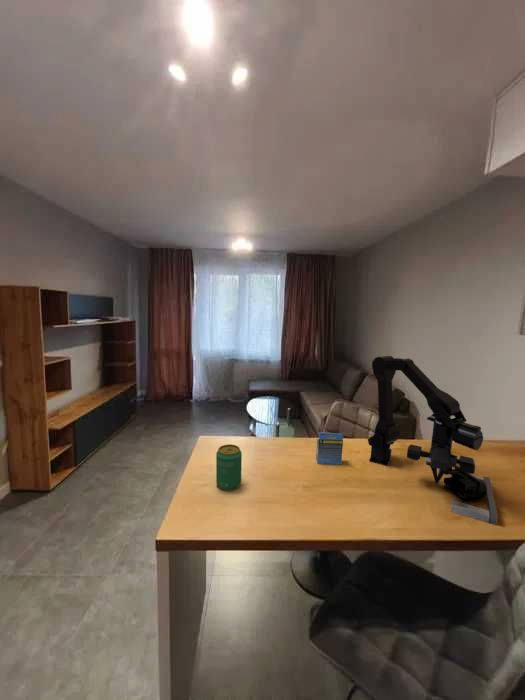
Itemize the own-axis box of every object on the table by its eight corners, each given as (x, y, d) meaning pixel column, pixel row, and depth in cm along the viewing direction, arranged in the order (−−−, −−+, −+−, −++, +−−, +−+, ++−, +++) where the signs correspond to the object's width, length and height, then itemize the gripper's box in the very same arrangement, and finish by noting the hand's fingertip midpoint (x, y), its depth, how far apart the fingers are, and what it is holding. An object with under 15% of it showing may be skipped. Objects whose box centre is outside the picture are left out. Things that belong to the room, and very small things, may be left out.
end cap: (485, 502, 100) (488, 481, 99) (465, 504, 98) (468, 483, 97) (460, 483, 109) (463, 464, 108) (441, 485, 108) (444, 466, 107)
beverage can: (245, 481, 108) (246, 446, 106) (233, 493, 101) (233, 457, 99) (224, 475, 111) (224, 441, 109) (211, 487, 104) (211, 451, 102)
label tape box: (339, 460, 124) (341, 429, 122) (341, 465, 120) (343, 433, 118) (315, 459, 124) (317, 428, 122) (317, 464, 120) (319, 432, 118)
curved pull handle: (450, 511, 95) (452, 502, 94) (451, 476, 114) (452, 468, 113) (496, 525, 90) (497, 515, 89) (488, 485, 108) (489, 477, 108)
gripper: (407, 439, 101) (402, 486, 104) (479, 455, 92) (472, 506, 94) (411, 427, 111) (406, 470, 113) (476, 440, 101) (470, 487, 104)
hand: (436, 482), depth 106 cm, fingers closed
